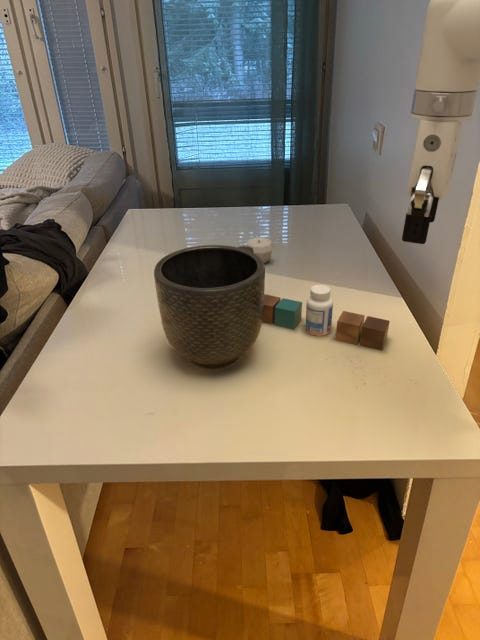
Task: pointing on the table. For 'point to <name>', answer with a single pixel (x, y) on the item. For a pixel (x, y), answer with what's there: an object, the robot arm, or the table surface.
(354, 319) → the block
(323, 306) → the pill bottle
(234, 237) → the table surface
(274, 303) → the block
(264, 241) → the white pillar candle
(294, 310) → the block
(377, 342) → the block
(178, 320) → the planter
